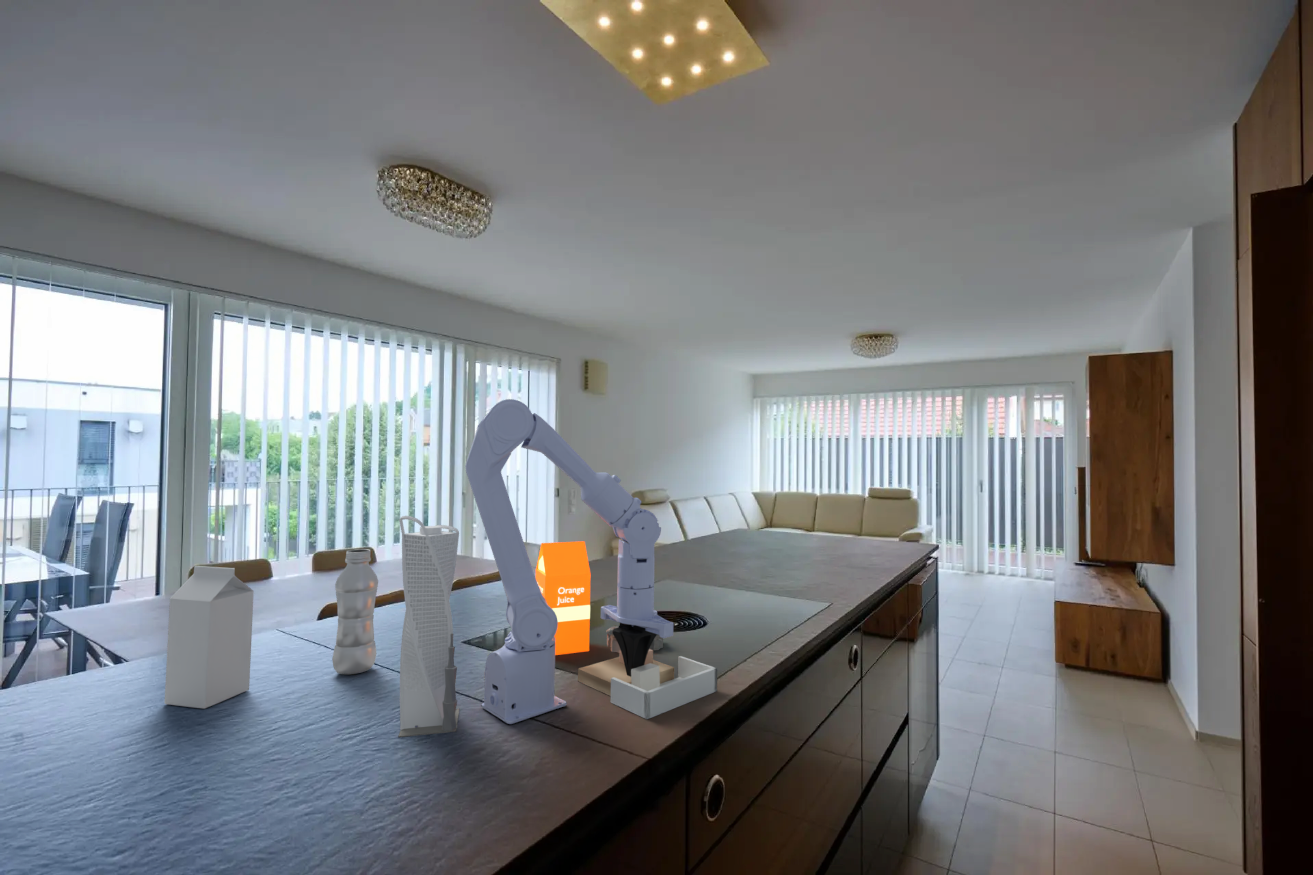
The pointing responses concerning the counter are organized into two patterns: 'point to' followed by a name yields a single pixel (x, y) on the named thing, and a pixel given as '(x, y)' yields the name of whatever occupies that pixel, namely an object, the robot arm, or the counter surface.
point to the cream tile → (646, 677)
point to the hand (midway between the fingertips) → (634, 674)
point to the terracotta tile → (648, 660)
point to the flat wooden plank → (615, 674)
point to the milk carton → (209, 639)
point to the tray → (666, 690)
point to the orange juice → (566, 592)
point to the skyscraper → (428, 632)
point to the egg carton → (614, 644)
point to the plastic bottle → (355, 614)
